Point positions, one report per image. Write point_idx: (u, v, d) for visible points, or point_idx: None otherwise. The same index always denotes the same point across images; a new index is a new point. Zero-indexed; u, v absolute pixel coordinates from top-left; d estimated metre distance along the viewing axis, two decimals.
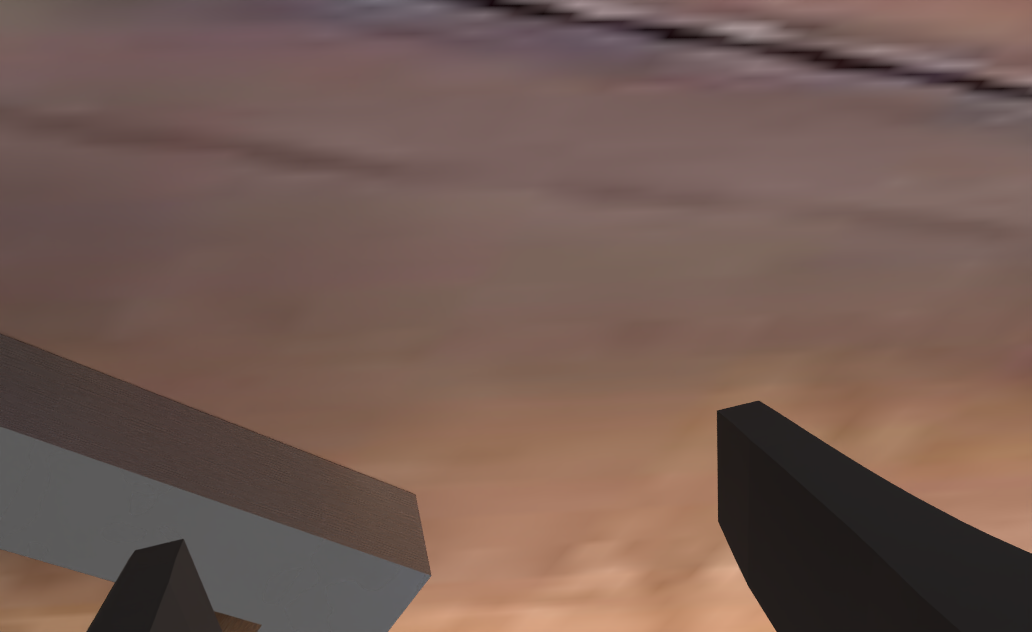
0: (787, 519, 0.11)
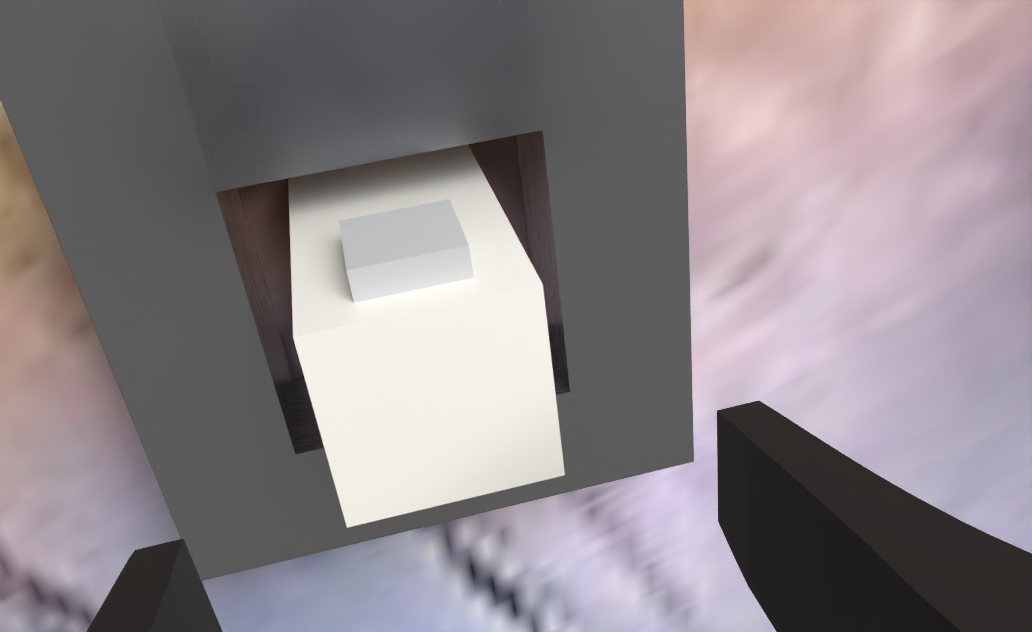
0: (788, 520, 0.11)
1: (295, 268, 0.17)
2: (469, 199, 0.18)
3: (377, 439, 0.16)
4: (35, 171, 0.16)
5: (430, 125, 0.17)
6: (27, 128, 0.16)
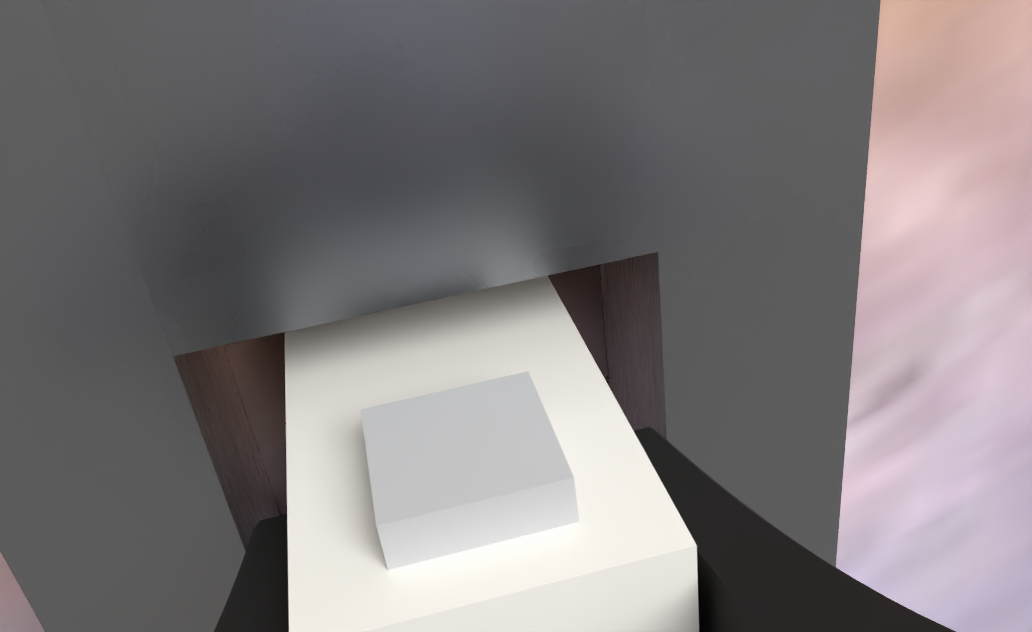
0: None
1: (293, 483, 0.11)
2: (549, 352, 0.12)
3: None
4: None
5: (495, 251, 0.12)
6: None
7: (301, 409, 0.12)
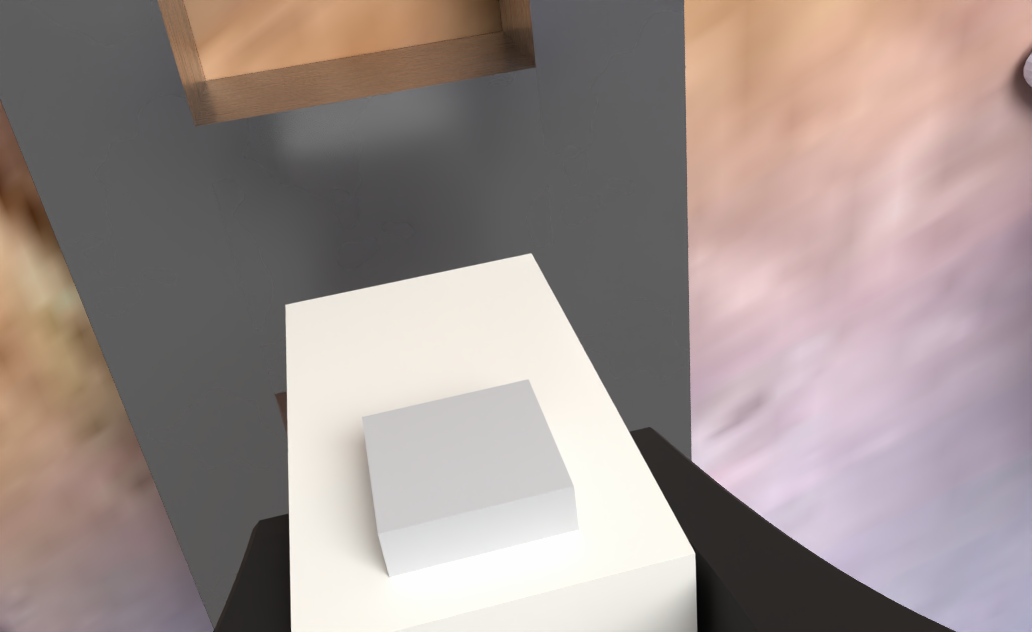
0: None
1: (295, 490, 0.11)
2: (548, 359, 0.12)
3: None
4: (119, 384, 0.18)
5: None
6: (114, 351, 0.18)
7: (303, 416, 0.12)
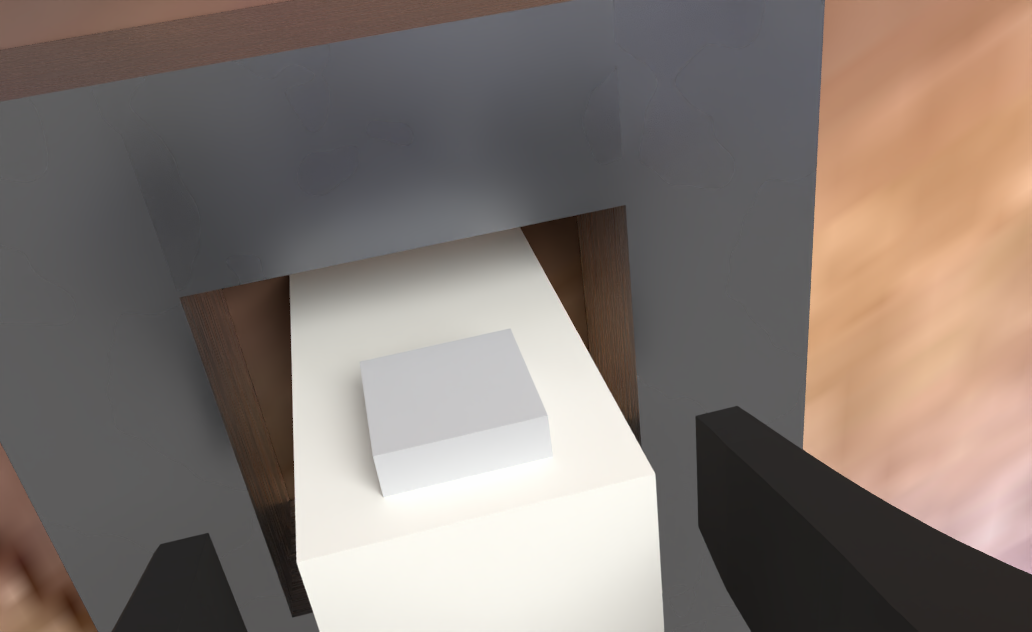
0: (763, 525, 0.11)
1: (299, 428, 0.12)
2: (531, 315, 0.14)
3: None
4: None
5: None
6: None
7: (306, 366, 0.13)
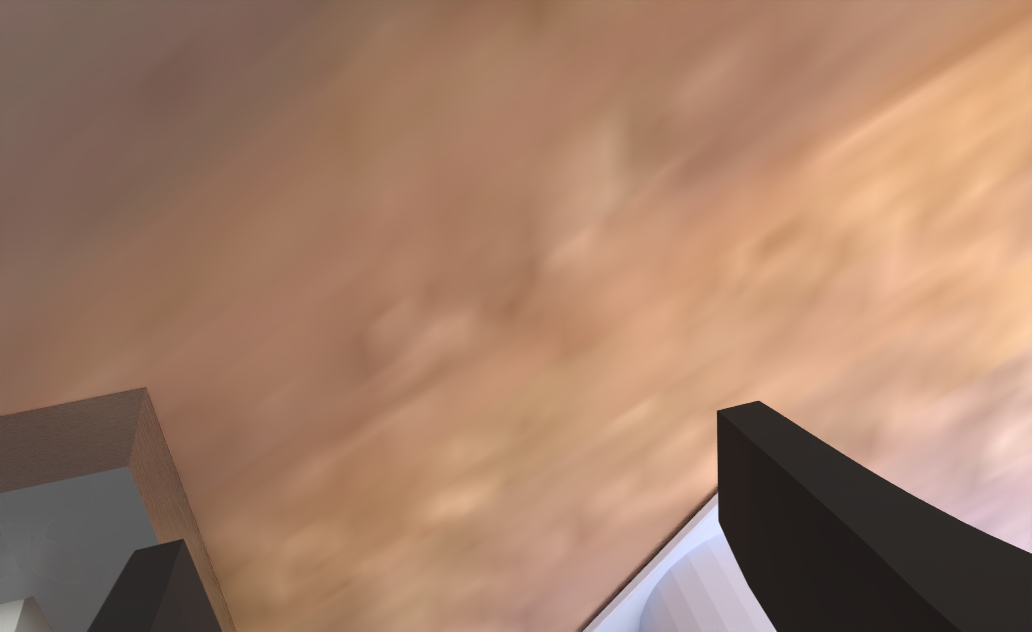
0: (787, 519, 0.11)
1: None
2: None
3: None
4: None
5: None
6: None
7: None
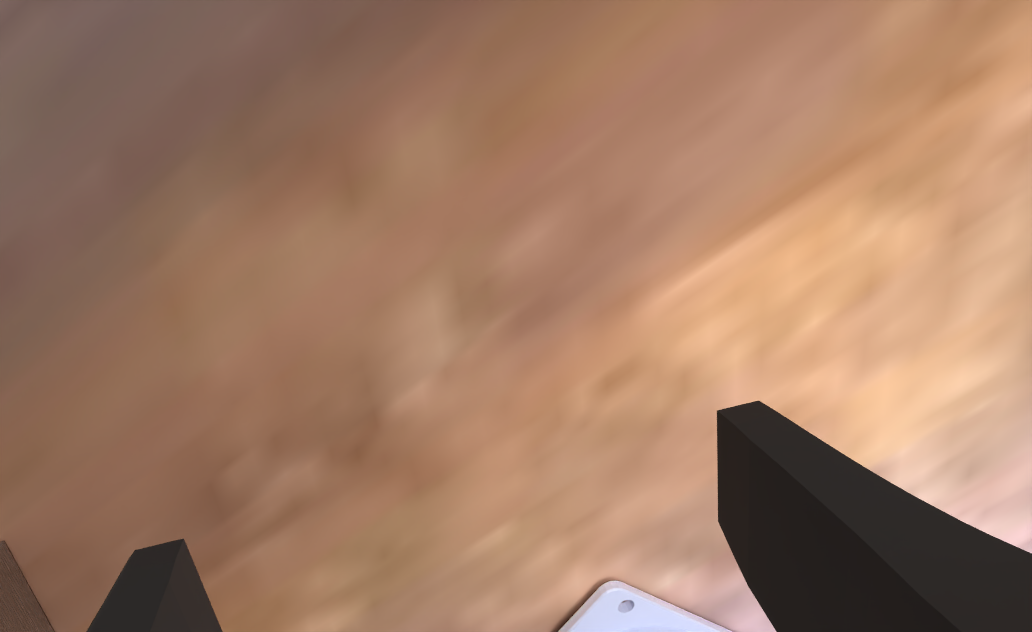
0: (787, 519, 0.11)
1: None
2: None
3: None
4: None
5: None
6: None
7: None
